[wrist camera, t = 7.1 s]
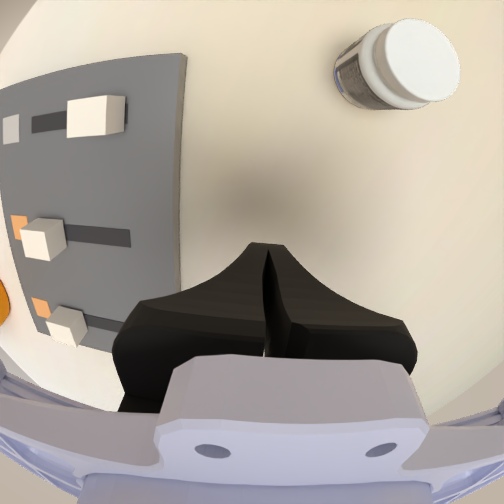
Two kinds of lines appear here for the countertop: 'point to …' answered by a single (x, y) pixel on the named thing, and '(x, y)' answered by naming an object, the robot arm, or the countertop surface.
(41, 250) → the middle tab
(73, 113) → the block
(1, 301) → the beer bottle
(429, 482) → the robot arm
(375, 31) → the pill bottle
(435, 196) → the countertop surface
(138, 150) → the switch board
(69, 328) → the white block
